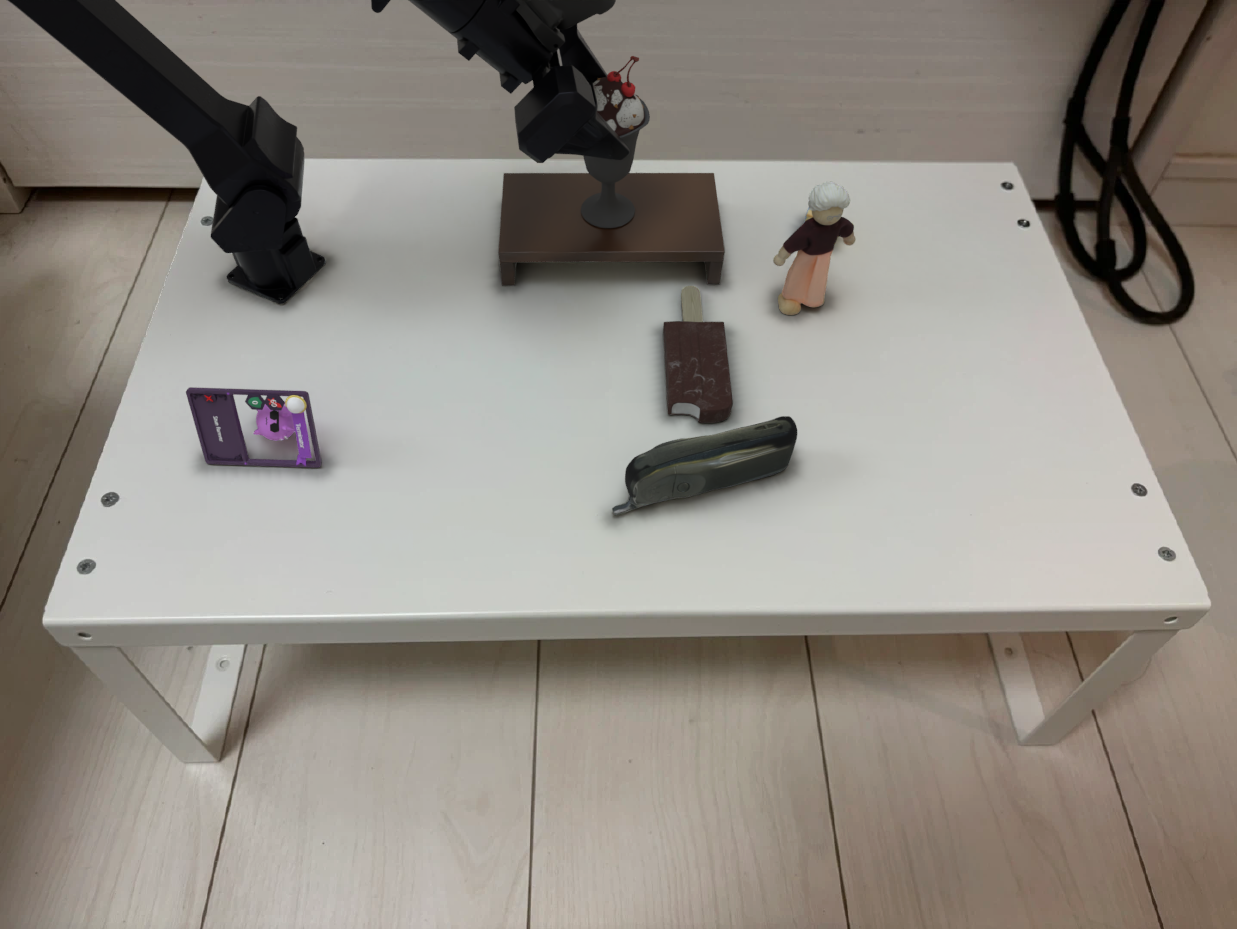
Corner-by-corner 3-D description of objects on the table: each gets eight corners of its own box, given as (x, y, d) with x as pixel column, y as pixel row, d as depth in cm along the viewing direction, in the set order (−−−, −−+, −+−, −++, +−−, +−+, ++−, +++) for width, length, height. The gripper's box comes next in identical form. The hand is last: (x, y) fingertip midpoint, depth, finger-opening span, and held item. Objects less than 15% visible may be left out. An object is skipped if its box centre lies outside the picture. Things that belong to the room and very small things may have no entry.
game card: (181, 394, 68) (303, 398, 68) (207, 360, 72) (323, 364, 72) (202, 469, 72) (318, 473, 72) (226, 432, 76) (336, 436, 76)
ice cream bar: (660, 293, 84) (667, 424, 76) (661, 280, 83) (669, 411, 74) (718, 293, 85) (732, 424, 76) (720, 280, 83) (734, 411, 75)
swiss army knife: (789, 405, 71) (605, 455, 68) (807, 435, 69) (619, 487, 66) (777, 444, 75) (603, 493, 72) (794, 473, 73) (616, 524, 70)
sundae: (659, 213, 85) (670, 60, 73) (603, 245, 82) (605, 92, 70) (612, 177, 88) (615, 24, 75) (557, 207, 85) (550, 54, 73)
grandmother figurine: (785, 329, 82) (812, 215, 72) (758, 302, 84) (781, 188, 74) (850, 296, 85) (886, 181, 74) (823, 271, 87) (854, 156, 76)
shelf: (501, 285, 85) (498, 252, 81) (507, 206, 91) (503, 172, 88) (719, 284, 85) (724, 251, 82) (709, 206, 92) (714, 172, 88)
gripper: (560, -19, 58) (714, 124, 68) (532, -150, 68) (669, -9, 79) (449, 102, 63) (606, 217, 74) (439, -36, 74) (578, 82, 84)
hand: (617, 121), depth 77 cm, fingers open, 9 cm apart
